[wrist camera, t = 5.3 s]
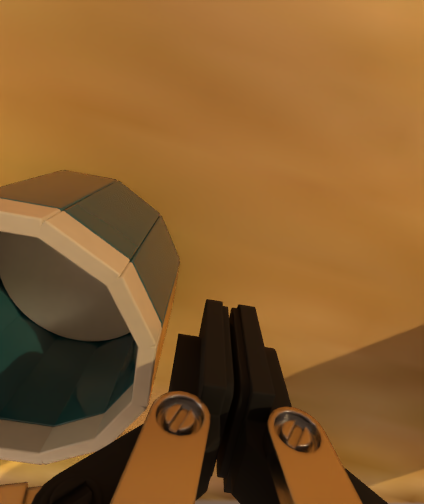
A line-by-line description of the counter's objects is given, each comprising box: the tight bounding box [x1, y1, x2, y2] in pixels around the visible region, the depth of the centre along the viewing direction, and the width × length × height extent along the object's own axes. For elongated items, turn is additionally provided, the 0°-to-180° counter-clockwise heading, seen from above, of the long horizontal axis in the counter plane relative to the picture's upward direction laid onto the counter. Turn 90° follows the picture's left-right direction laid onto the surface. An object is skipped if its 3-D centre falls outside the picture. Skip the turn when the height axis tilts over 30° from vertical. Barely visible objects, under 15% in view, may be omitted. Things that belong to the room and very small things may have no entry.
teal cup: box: [0, 170, 180, 465], centre depth 11 cm, size 8×8×6 cm
